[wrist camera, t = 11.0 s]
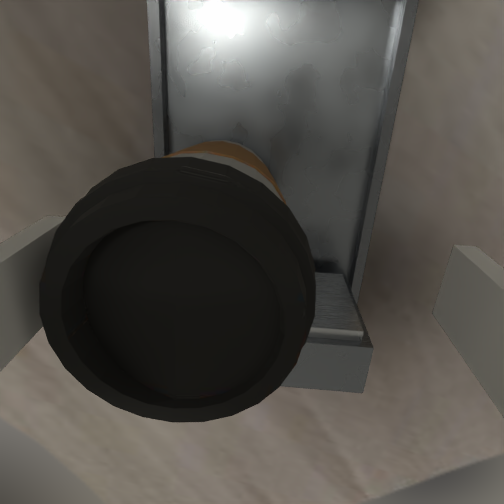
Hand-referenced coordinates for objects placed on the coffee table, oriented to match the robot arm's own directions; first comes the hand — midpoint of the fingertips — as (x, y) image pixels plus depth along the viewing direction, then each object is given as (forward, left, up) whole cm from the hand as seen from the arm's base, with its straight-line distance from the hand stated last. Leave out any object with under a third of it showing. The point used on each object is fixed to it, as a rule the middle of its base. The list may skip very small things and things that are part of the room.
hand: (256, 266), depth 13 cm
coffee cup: (0, -3, -12) cm, 12 cm away
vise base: (-3, 0, -13) cm, 14 cm away
